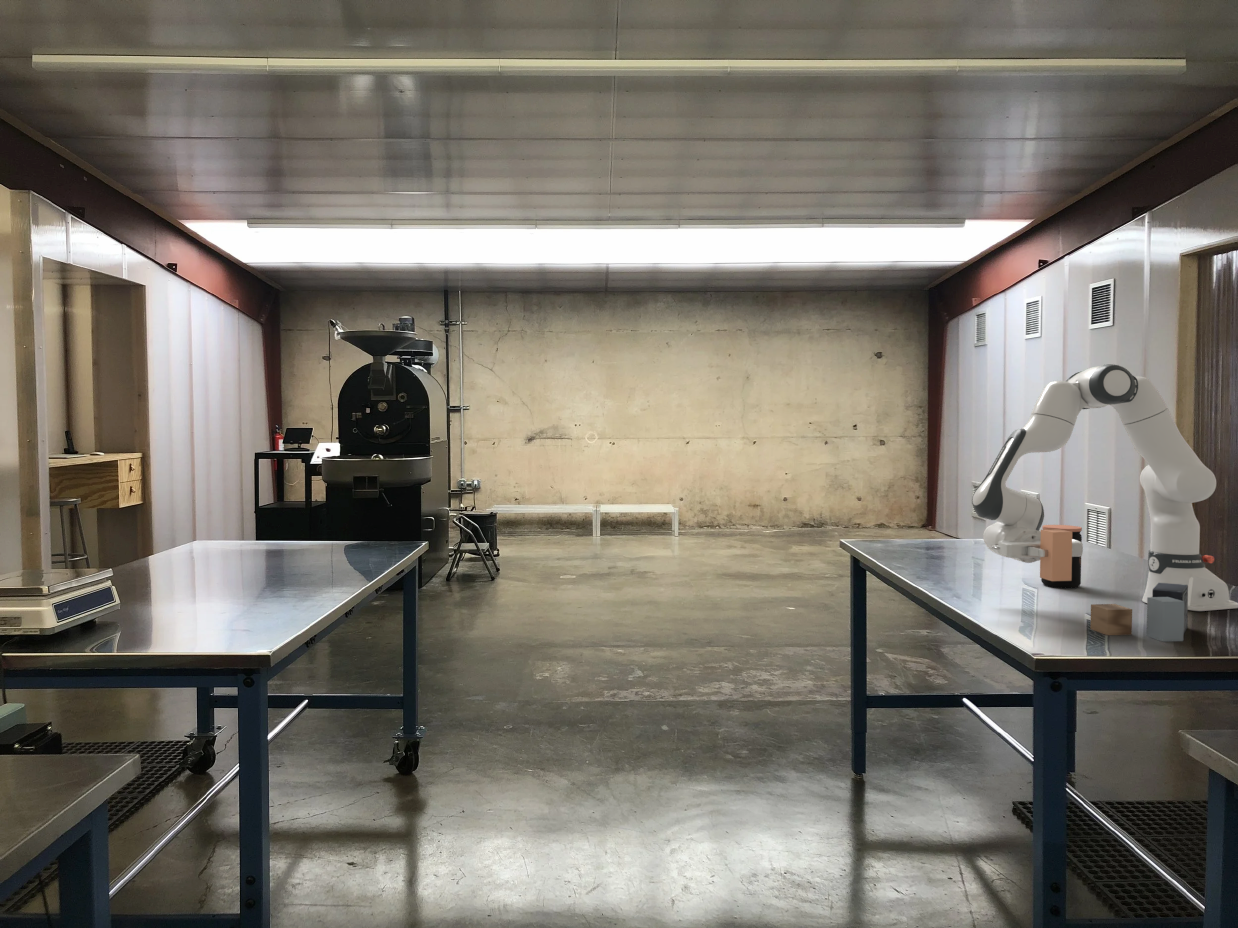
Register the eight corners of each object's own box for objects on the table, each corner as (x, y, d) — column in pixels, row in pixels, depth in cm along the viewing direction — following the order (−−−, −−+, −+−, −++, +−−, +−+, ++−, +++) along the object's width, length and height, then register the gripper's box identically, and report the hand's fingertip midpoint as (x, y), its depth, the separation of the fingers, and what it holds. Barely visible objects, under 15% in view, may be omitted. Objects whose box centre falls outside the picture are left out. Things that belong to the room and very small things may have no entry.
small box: (1156, 623, 203) (1157, 581, 203) (1188, 627, 199) (1189, 584, 198) (1150, 632, 195) (1151, 587, 194) (1183, 636, 191) (1184, 591, 190)
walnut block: (1114, 628, 199) (1114, 603, 198) (1131, 634, 193) (1132, 609, 192) (1090, 629, 198) (1090, 604, 198) (1107, 635, 192) (1107, 609, 192)
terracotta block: (1058, 576, 208) (1059, 529, 208) (1071, 580, 203) (1072, 531, 203) (1039, 577, 208) (1040, 529, 207) (1051, 581, 203) (1052, 532, 202)
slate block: (1166, 635, 192) (1167, 596, 191) (1183, 640, 187) (1184, 601, 186) (1146, 635, 191) (1147, 597, 191) (1162, 641, 186) (1163, 601, 186)
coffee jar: (1088, 589, 247) (1089, 528, 246) (1051, 589, 247) (1053, 528, 246) (1069, 582, 257) (1070, 524, 257) (1034, 582, 258) (1035, 524, 257)
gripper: (988, 534, 217) (1017, 541, 203) (1062, 532, 219) (1097, 539, 205) (987, 558, 217) (1017, 566, 203) (1062, 556, 219) (1096, 565, 205)
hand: (1058, 553), depth 204 cm, fingers closed on terracotta block, 5 cm apart
